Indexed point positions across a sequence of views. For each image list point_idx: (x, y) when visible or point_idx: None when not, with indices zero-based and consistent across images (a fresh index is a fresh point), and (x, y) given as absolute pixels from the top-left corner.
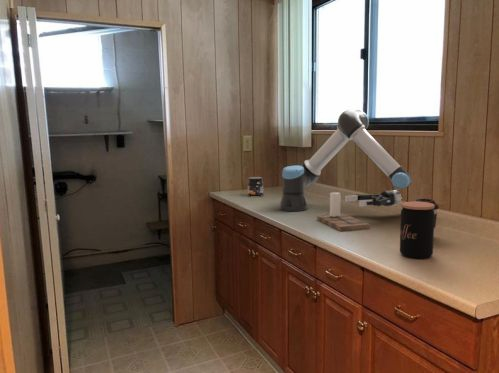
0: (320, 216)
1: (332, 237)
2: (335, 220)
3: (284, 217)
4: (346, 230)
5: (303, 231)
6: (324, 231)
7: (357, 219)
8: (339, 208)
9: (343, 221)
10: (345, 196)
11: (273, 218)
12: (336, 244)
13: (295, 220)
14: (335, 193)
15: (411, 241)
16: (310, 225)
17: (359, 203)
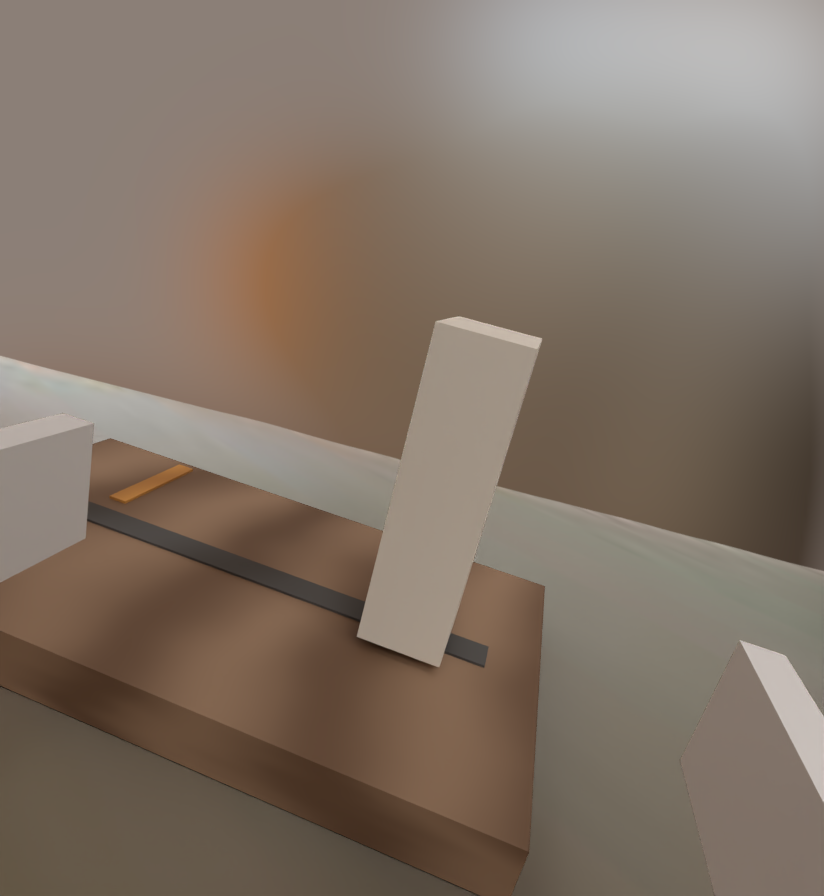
0: (499, 578)
1: (95, 409)
2: (275, 532)
3: (699, 574)
4: None
5: (309, 439)
6: (212, 455)
7: (60, 646)
8: (383, 535)
9: (182, 529)
10: (760, 657)
11: (680, 538)
12: (19, 366)
13: (578, 551)
14: (462, 321)
15: None
16: None
17: (84, 482)
